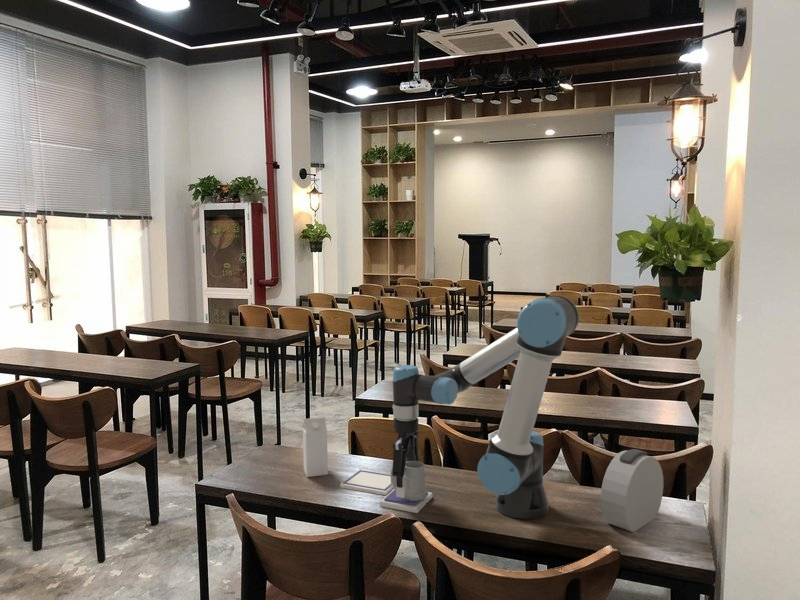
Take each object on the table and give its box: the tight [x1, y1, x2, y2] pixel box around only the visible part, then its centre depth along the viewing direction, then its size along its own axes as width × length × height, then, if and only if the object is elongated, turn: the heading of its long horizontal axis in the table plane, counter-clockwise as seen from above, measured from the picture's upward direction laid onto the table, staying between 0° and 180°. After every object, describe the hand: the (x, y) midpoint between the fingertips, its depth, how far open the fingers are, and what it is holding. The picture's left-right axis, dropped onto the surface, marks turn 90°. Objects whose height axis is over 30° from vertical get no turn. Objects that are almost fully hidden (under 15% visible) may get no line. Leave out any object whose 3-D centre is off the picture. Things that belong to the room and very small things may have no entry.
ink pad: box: [379, 488, 433, 514], centre depth 184 cm, size 12×12×2 cm
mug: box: [389, 460, 427, 501], centre depth 184 cm, size 8×12×12 cm, turn 61°
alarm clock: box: [600, 448, 664, 533], centre depth 170 cm, size 21×8×20 cm, turn 131°
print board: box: [339, 469, 394, 496], centre depth 199 cm, size 16×14×1 cm
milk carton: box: [302, 416, 329, 478], centre depth 208 cm, size 7×7×19 cm
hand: (406, 491), depth 184 cm, fingers closed on mug, 7 cm apart
